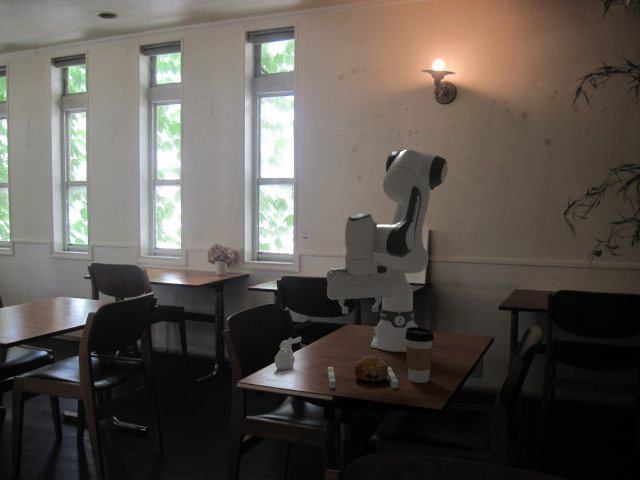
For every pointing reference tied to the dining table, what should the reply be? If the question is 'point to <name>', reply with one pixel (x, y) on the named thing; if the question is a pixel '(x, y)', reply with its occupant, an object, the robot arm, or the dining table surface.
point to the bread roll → (371, 369)
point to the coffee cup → (419, 353)
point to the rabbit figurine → (286, 354)
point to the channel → (390, 377)
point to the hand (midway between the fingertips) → (360, 312)
